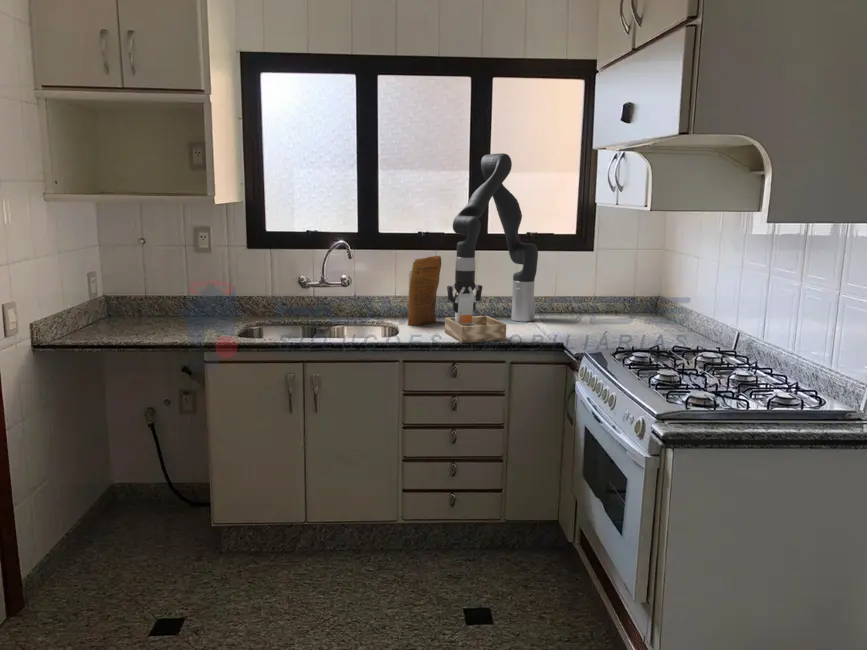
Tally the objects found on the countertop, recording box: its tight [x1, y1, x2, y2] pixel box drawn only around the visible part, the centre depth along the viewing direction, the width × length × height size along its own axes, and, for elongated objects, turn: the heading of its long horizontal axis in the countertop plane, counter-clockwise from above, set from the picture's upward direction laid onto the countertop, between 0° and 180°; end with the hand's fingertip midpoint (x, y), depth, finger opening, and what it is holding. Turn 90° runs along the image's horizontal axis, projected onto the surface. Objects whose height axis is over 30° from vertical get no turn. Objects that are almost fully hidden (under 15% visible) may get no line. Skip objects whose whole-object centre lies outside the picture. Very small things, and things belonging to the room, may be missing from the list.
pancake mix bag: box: [407, 255, 442, 327], centre depth 300 cm, size 7×19×28 cm, turn 135°
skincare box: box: [454, 293, 475, 324], centre depth 279 cm, size 6×4×12 cm
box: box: [444, 315, 507, 344], centre depth 279 cm, size 18×18×6 cm
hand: (464, 311), depth 280 cm, fingers closed on skincare box, 6 cm apart
